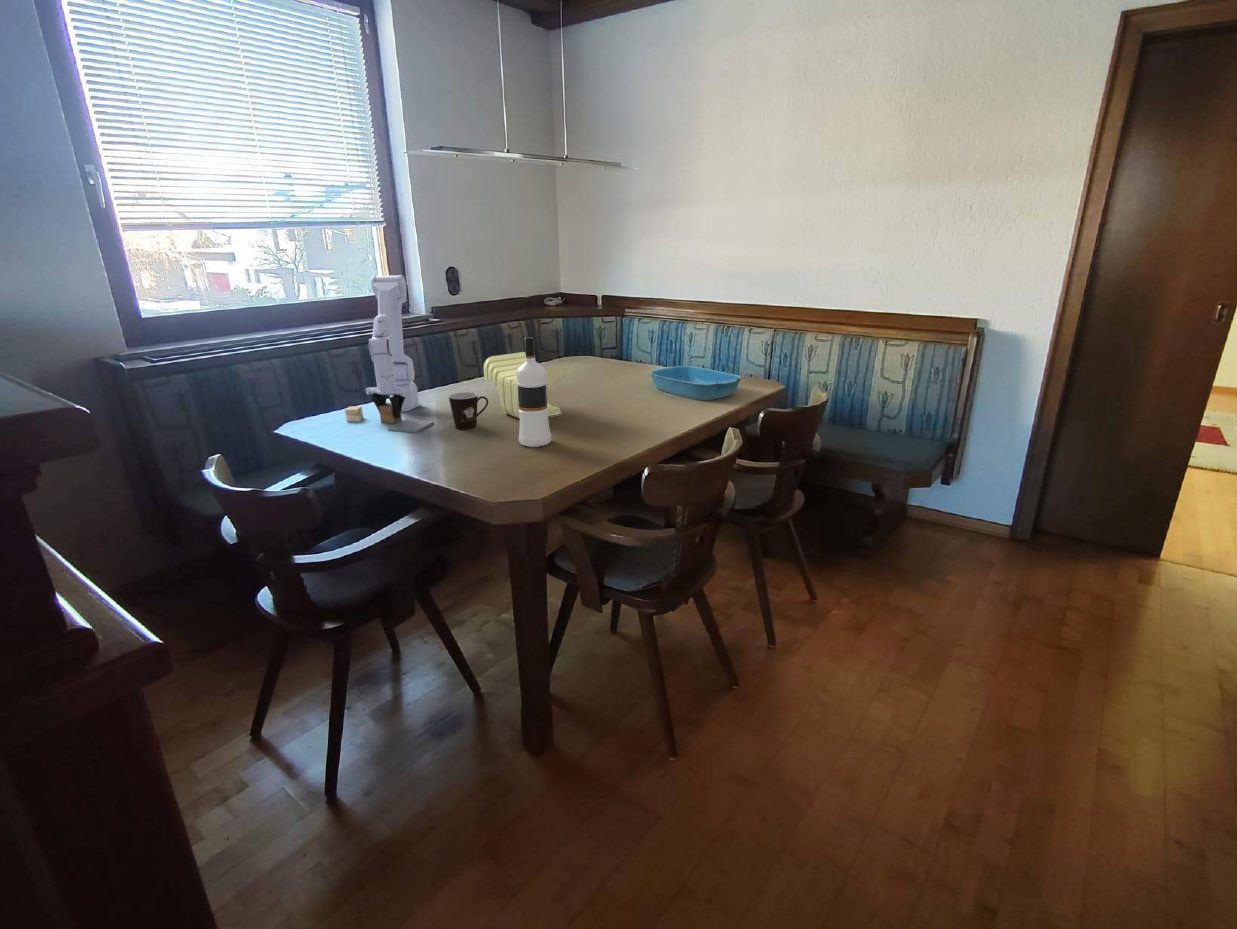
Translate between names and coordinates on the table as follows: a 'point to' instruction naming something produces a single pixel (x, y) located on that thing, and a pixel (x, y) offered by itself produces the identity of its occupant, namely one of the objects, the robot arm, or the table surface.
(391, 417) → the walnut block
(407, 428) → the slate coaster
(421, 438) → the table surface
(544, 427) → the vodka
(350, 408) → the maple block
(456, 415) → the coffee mug
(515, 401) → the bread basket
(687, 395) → the casserole dish
